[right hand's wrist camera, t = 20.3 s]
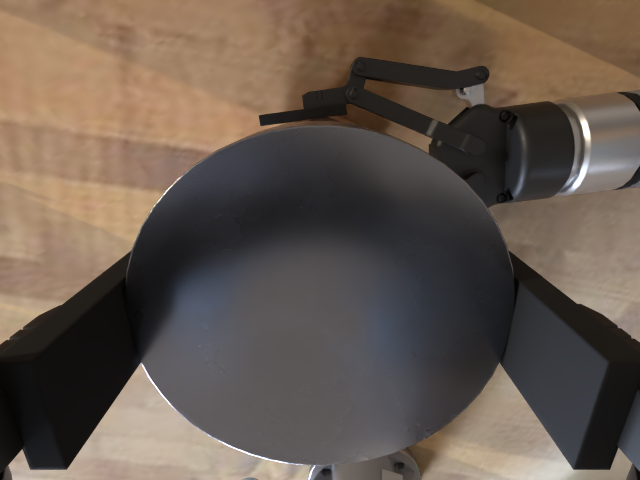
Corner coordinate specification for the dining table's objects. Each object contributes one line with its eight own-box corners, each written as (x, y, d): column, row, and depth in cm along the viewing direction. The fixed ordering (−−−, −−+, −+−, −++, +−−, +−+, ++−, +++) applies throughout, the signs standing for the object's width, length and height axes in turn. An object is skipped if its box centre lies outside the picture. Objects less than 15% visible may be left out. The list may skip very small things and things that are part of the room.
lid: (497, 106, 10) (540, 107, 8) (471, 406, 14) (497, 456, 12) (118, 135, 10) (72, 143, 8) (191, 422, 14) (171, 474, 12)
